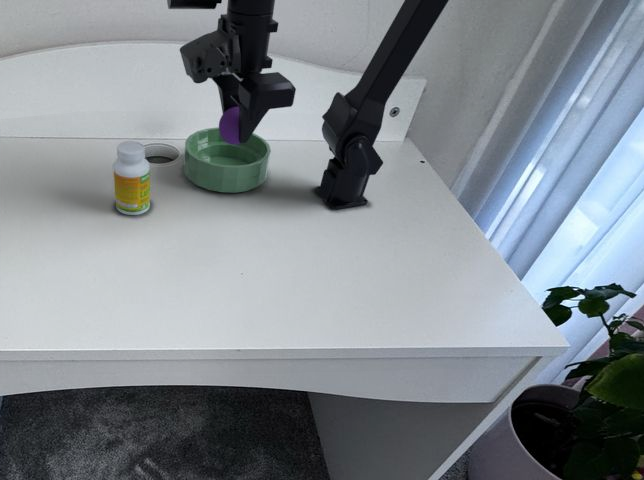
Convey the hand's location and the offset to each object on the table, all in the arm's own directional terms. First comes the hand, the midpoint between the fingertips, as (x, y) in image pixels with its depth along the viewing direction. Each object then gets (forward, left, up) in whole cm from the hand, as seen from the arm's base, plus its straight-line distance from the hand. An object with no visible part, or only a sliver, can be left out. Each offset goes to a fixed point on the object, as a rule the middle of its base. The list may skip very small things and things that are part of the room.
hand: (235, 134), depth 73 cm
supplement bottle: (+15, -2, -11) cm, 19 cm away
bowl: (-3, -8, -11) cm, 14 cm away
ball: (0, 0, +1) cm, 1 cm away
